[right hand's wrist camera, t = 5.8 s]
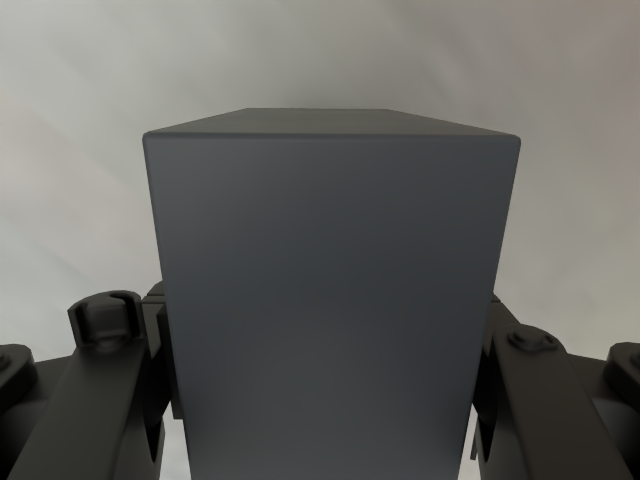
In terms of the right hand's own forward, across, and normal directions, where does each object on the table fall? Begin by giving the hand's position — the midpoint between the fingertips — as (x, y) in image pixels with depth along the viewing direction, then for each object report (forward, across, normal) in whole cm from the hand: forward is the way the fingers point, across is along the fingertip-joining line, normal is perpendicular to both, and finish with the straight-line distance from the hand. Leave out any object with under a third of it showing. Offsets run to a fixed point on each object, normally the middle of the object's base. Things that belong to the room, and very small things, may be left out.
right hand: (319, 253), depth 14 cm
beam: (+1, 0, -20) cm, 21 cm away
